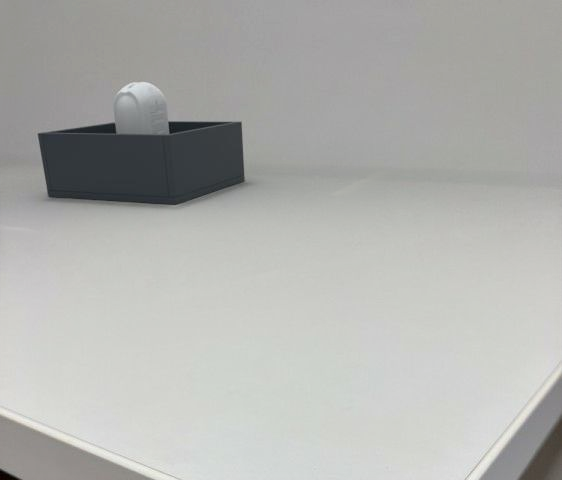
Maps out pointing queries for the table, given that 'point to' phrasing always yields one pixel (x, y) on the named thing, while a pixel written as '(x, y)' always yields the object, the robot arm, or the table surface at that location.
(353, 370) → the table surface
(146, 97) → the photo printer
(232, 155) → the bin
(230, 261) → the table surface
